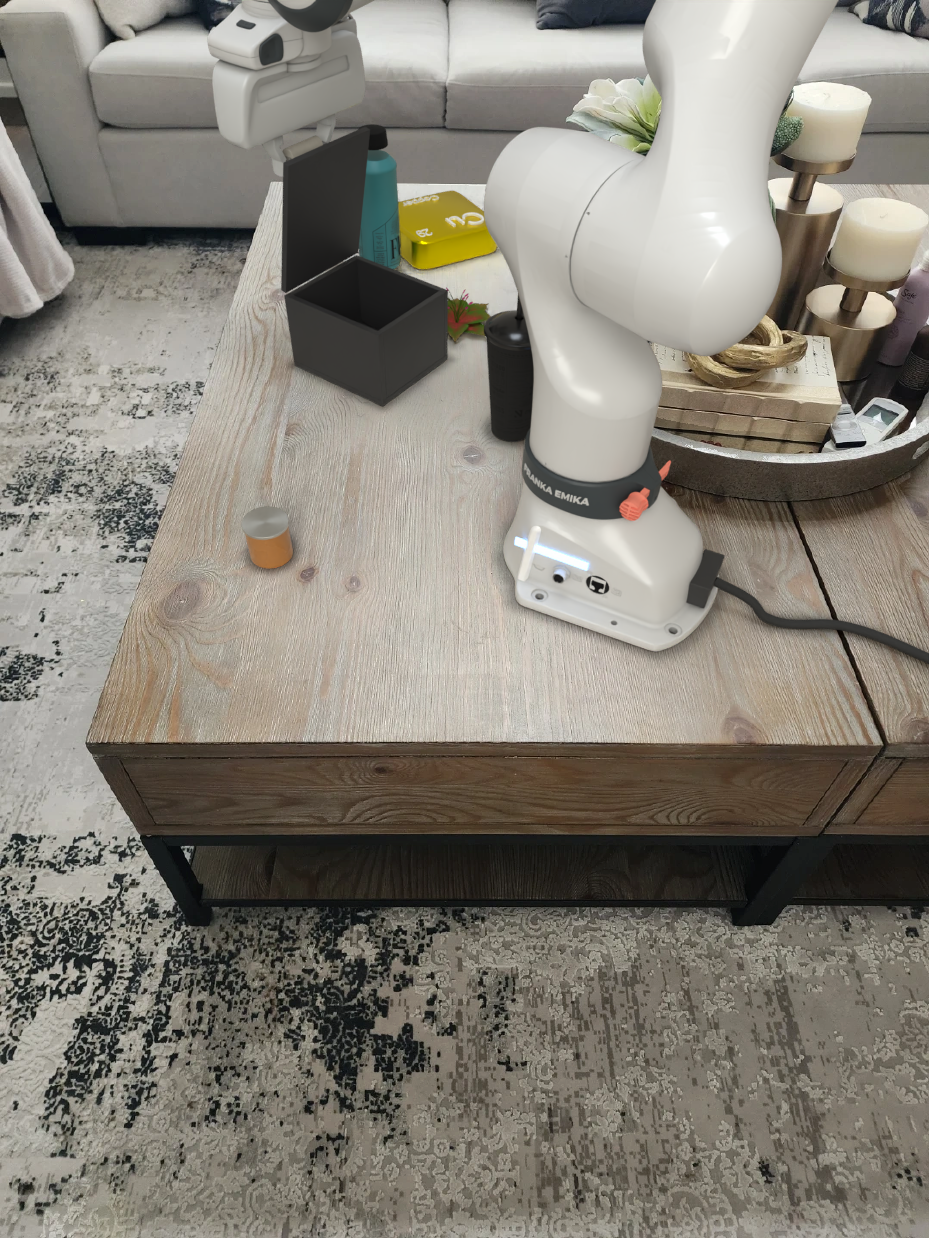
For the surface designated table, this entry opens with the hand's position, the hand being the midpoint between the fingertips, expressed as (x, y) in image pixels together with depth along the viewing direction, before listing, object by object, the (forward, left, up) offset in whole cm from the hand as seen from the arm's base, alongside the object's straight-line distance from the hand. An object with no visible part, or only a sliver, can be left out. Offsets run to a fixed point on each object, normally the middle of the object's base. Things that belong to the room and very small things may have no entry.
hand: (302, 165), depth 99 cm
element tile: (+5, -33, -23) cm, 41 cm away
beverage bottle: (+6, -20, -23) cm, 31 cm away
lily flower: (-12, -15, -23) cm, 30 cm away
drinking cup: (-32, +1, -23) cm, 39 cm away
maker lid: (-3, 0, -5) cm, 6 cm away
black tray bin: (-9, 0, -23) cm, 24 cm away
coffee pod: (-24, +34, -23) cm, 47 cm away
